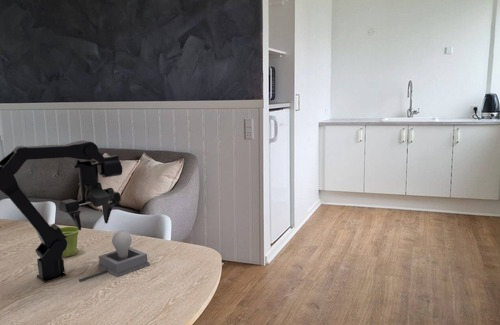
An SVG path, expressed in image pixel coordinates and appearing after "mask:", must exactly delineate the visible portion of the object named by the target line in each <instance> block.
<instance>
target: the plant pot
mask: <svg viewBox="0 0 500 325" xmlns="http://www.w3.org/2000/svg"><path fill="white" fill-rule="evenodd" d="M59 228H60V229H61V231H62V233H63V234H64V235H66V236H67V238H65V239H66V240H67V243H68V244H67V247H66V249H65V250H64V251H63V254H62V258H68V257H69V256H74V255H76V254H77V250H78V235H79V232H80V230H78V228H77V226H63V227H59Z"/></svg>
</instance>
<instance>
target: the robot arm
mask: <svg viewBox="0 0 500 325" xmlns="http://www.w3.org/2000/svg"><path fill="white" fill-rule="evenodd" d="M119 157H120V156H118V155H117V154H116V155H111V156H103V155H102V153H101V152H100V151H99V148H98V145H97V144H96V143H95V142H93V141H89V140H84V139H83V140H77V141H73V142H70V143H66V144H56V145H55V144H54V145H53V144H52V145H29V146H27V145H25V146H24V145H17V146H15V147H14V148H13V149H12V151H11V152H9V154H7V155H6V156H5V157H4V158H2V159H1V160H0V192H2V193H3V194H4V195H5V196H7V198H9V200H10V201H11V202H12V203H13V205H14V206H15V207H16V209H18V210H19V212H20V213H21V214H22V216H23V217H24V218H25V219H26V220H27V221H28V223H29V224H30V225H31V227H32V228H34V230H35V231H36V234H37V236H38V238H39V240H40V242H41V243H40V244H39V245H38V246H37V247H36V249H35V251H34V252H35V253H36V254H37V256H38V257H39V258H37V259H36V260H37V271H38V272H37V273H38V274H37V275H36V277H37V278H38V279H39V280H41V281H42V282H44V283H48V282H51V281H54V280H57V279H59V278H63V277H65V276H66V275H67V274H66V273H65V271H66V270H65V260H64V259H63V257H62V254H63V251H64V250H65V249H66V247H67V244H68V243H67V240H66V239H65V238H67V236H66V235H64V234H63V233H62V231H61V229H60V228H61V227H59V226H58V225H57V224H55V223H54V222H53V223H52V224H51V225H50V224H49V223H48V221H47V220H46V219H45V218H44V216H43V215H42V214H40V212H39V211H38V210H37V208H36V207H35V206H34V205H33V203H32V202H31V200H29V198H28V197H27V196H26V194H24V192H23V191H22V189H21V188H20V185H19V182H18V181H17V179H16V177H15V175H16V174H17V173H18V171H19V170H20V169H21V167H22V166H23V165H24V163H25V162H26V161H28V160H41V159H42V160H44V159H45V160H46V159H59V158H60V159H61V158H69V159H75V160H74V162H73V163H71V165H70V167H71V168H74V169H78V175H79V176H78V178H79V179H78V180H79V183H77V186H78V187H79V189H80V194H79V195H78V198H79V200H75V199H72V198H69V199H65V200H60V201H59V203H58V209H59V211H61V212H64V213H67V214H68V215H69V217H70V218H71V219H72V221H73V223H74V225H75V227H77V228H78V230H79V231H81V230H82V224H81V216H80V214H81V210H79V209H80V207H83V206H88V205H93V206H94V207H96V208H97V207H102V215H103V219H104V224H108V223H109V219H110V216H111V213H112V210H113V208H114V207H115V205H118V203H119V202H120V201H122V194H121V193H120V192H118V191H116V190H115V191H114V188H112V187H106V188H104V189H103V187H102V182H100V180H99V176H101V177H102V178H111V177H116V176H122V174H123V165H122V162H121V161H120V158H119ZM81 160H82V161H81ZM91 161H95V162H91Z"/></svg>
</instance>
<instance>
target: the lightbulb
mask: <svg viewBox="0 0 500 325" xmlns="http://www.w3.org/2000/svg"><path fill="white" fill-rule="evenodd" d="M132 239H133V238H132V235H131V234H130V233H129V232H128V231H125V230H120V231H116V233H114V234H113V236H112V238H111V243H112V246H113V248H114V249H115V251H116V250H117V253H118V257H119V262H120V261H122V260H125V259H127V256H128V249H129V247H131V244H132V242H133V240H132Z"/></svg>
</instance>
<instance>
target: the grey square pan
mask: <svg viewBox="0 0 500 325" xmlns="http://www.w3.org/2000/svg"><path fill="white" fill-rule="evenodd" d="M150 265H151V263H150V262H149V261H148V254H147V253H145V252H142V251H141V250H138V249H135V248H133V247H131V246H130V247H129V249H128V256H127V259H125V260H122V261H120V262H119V257H118V253H117V250H116V249H115V250H114V251H113V250H112V251H111V252H107V253H104V254H101V255H98V264H97V268H99V269H100V270H101V271H99V272H96V273H92V274H90V275H87V276H84V277H82V278H78V282H80V283H81V282H85V281H87V280H89V279H93V278H95V277H98V276H101V275H103V274H107V273H108V274H109V275H112V276H114V277H116V278H119V277H121V276H124V275H126V274H130V273H133V272H134V271H138V270H140V269H143V268H146V267H148V266H150Z"/></svg>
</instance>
